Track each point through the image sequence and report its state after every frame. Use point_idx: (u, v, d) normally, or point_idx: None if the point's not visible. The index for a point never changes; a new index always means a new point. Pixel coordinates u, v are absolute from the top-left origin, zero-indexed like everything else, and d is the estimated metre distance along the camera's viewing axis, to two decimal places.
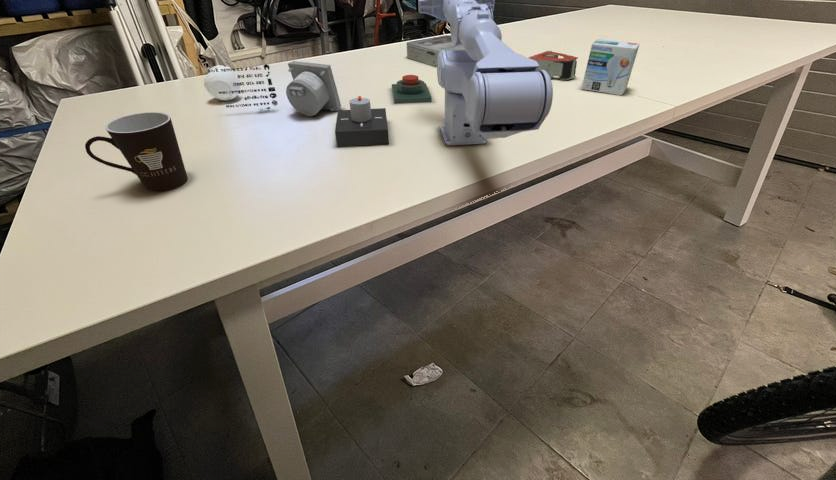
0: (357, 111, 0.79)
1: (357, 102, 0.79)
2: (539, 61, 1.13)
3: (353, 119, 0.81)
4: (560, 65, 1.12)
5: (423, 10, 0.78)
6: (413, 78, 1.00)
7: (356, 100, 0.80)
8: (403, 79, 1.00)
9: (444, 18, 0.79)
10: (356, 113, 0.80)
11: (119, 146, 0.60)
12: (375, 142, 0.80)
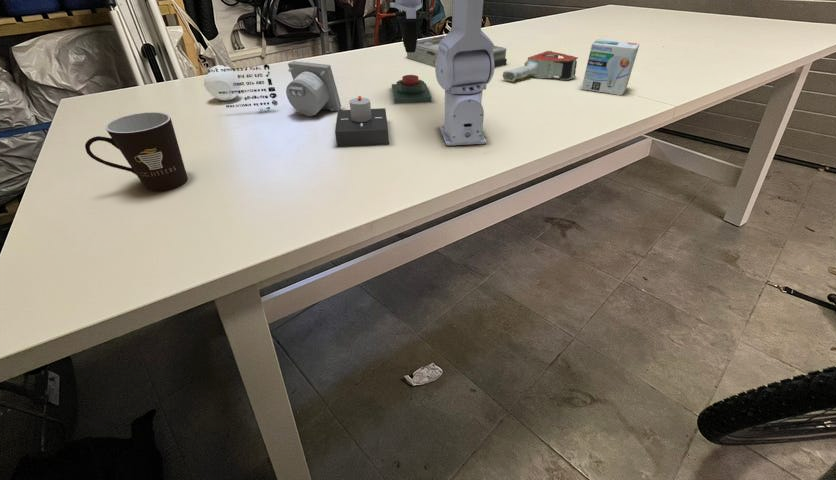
0: (357, 111, 0.79)
1: (357, 102, 0.79)
2: (539, 61, 1.13)
3: (353, 119, 0.81)
4: (560, 65, 1.12)
5: None
6: (413, 78, 1.00)
7: (356, 100, 0.80)
8: (403, 79, 1.00)
9: (418, 4, 0.89)
10: (356, 113, 0.80)
11: (119, 146, 0.60)
12: (375, 142, 0.80)
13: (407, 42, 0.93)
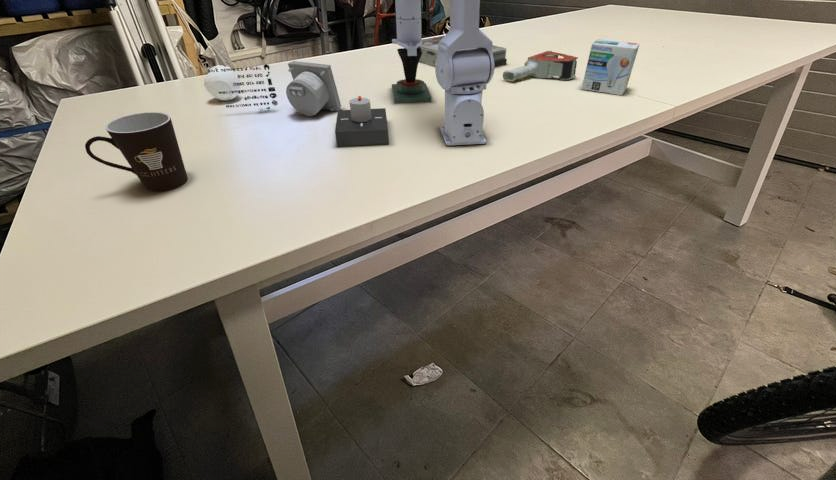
0: (357, 111, 0.79)
1: (357, 102, 0.79)
2: (539, 61, 1.13)
3: (353, 119, 0.81)
4: (560, 65, 1.12)
5: None
6: (413, 83, 1.00)
7: (356, 100, 0.80)
8: (403, 84, 1.01)
9: (418, 41, 0.94)
10: (356, 113, 0.80)
11: (119, 146, 0.60)
12: (375, 142, 0.80)
13: (407, 73, 0.99)
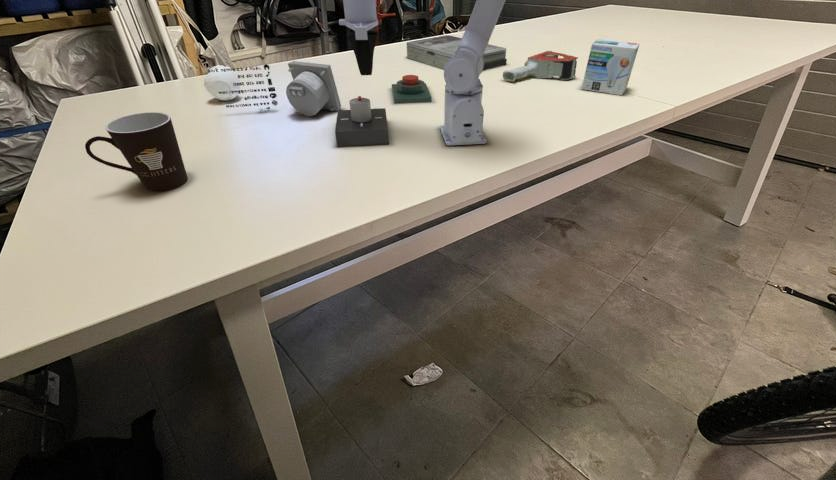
0: (357, 111, 0.79)
1: (357, 102, 0.79)
2: (539, 61, 1.13)
3: (353, 119, 0.81)
4: (560, 65, 1.12)
5: None
6: (413, 78, 1.00)
7: (356, 100, 0.80)
8: (403, 79, 1.00)
9: (372, 22, 0.73)
10: (356, 113, 0.80)
11: (119, 146, 0.60)
12: (375, 142, 0.80)
13: (361, 63, 0.78)
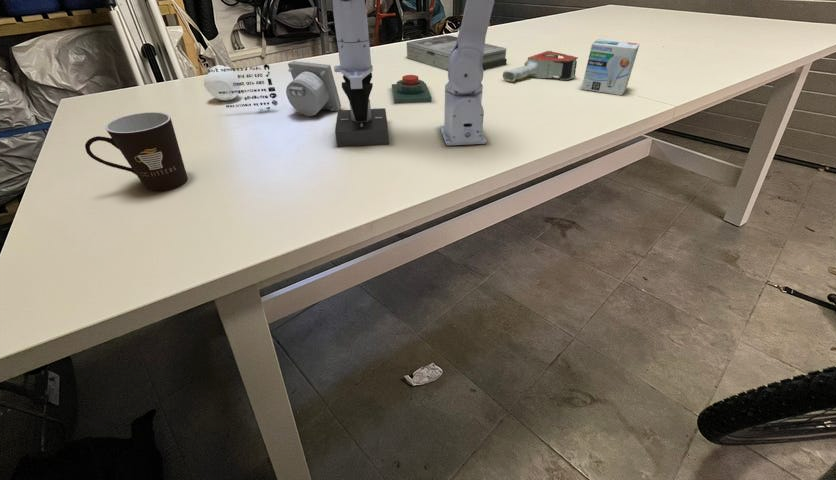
0: None
1: None
2: (539, 61, 1.13)
3: (353, 119, 0.81)
4: (560, 65, 1.12)
5: None
6: (413, 78, 1.00)
7: None
8: (403, 79, 1.00)
9: (366, 69, 0.74)
10: None
11: (119, 146, 0.60)
12: (375, 142, 0.80)
13: (356, 110, 0.78)
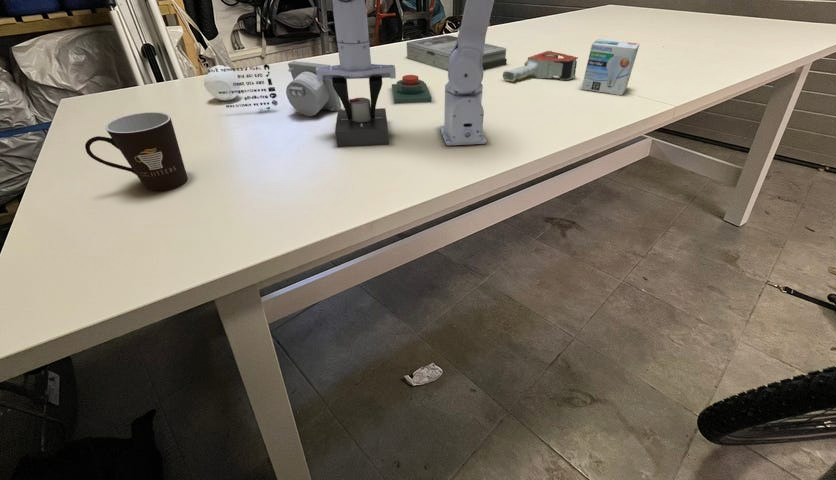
0: (370, 108, 0.81)
1: (364, 101, 0.80)
2: (539, 61, 1.13)
3: (367, 119, 0.81)
4: (560, 65, 1.12)
5: None
6: (413, 78, 1.00)
7: (359, 101, 0.79)
8: (403, 79, 1.00)
9: None
10: (369, 111, 0.81)
11: (119, 146, 0.60)
12: (375, 142, 0.80)
13: None
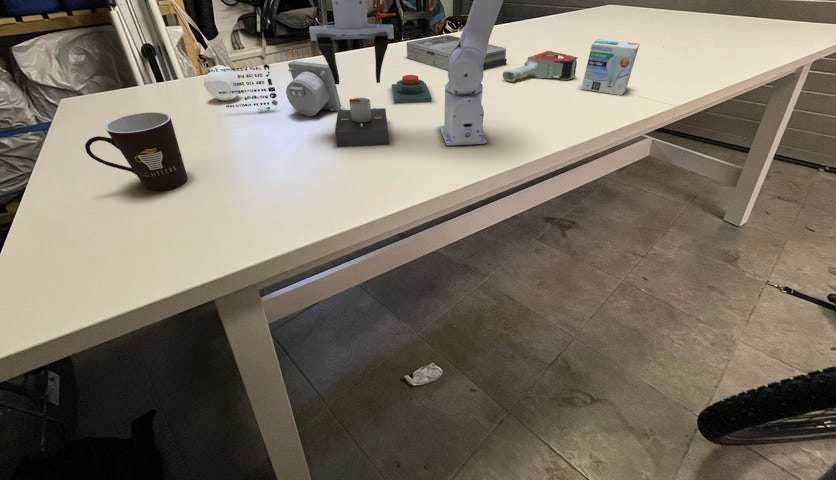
0: (370, 108, 0.81)
1: (364, 101, 0.80)
2: (539, 61, 1.13)
3: (367, 119, 0.81)
4: (560, 65, 1.12)
5: None
6: (413, 78, 1.00)
7: (359, 101, 0.79)
8: (403, 79, 1.00)
9: None
10: (369, 111, 0.81)
11: (119, 146, 0.60)
12: (375, 142, 0.80)
13: None
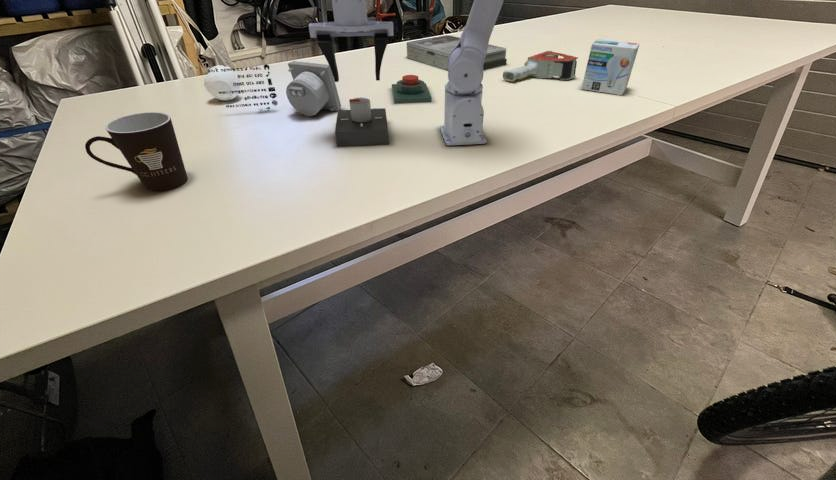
0: (370, 108, 0.81)
1: (364, 101, 0.80)
2: (539, 61, 1.13)
3: (367, 119, 0.81)
4: (560, 65, 1.12)
5: None
6: (413, 78, 1.00)
7: (359, 101, 0.79)
8: (403, 79, 1.00)
9: None
10: (369, 111, 0.81)
11: (119, 146, 0.60)
12: (375, 142, 0.80)
13: None
